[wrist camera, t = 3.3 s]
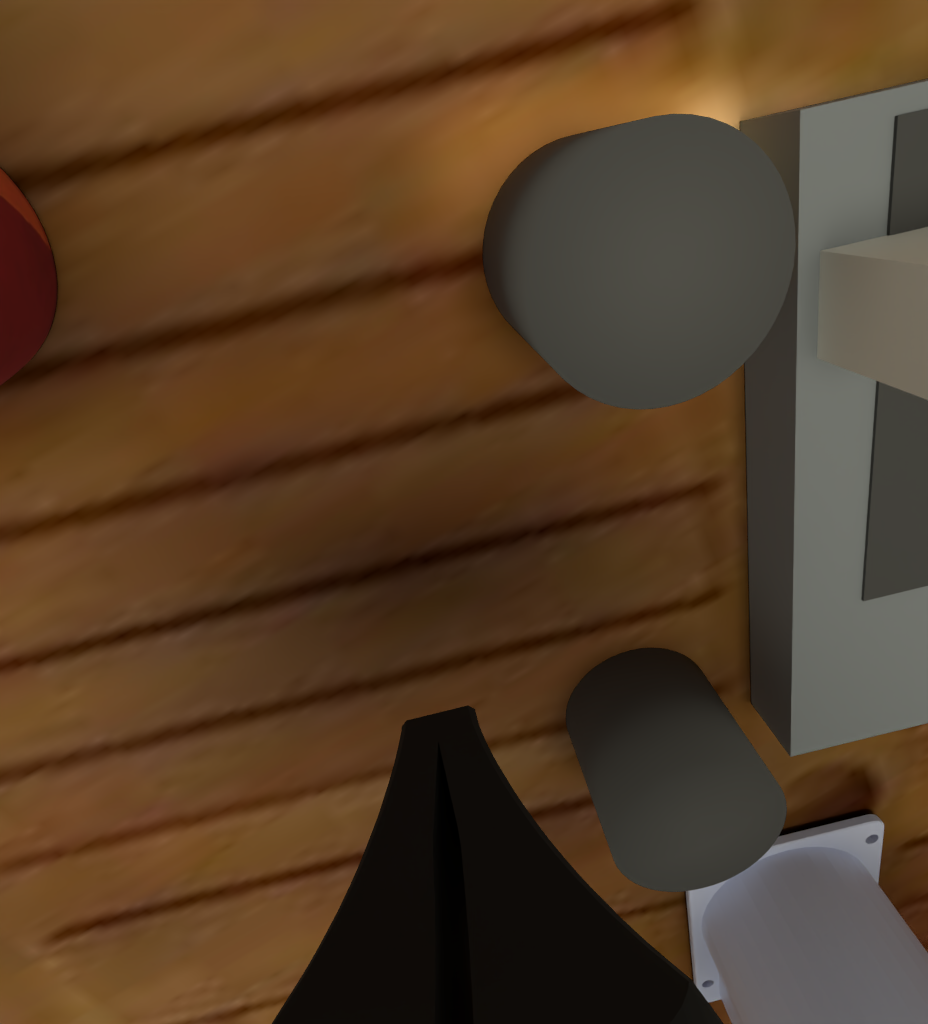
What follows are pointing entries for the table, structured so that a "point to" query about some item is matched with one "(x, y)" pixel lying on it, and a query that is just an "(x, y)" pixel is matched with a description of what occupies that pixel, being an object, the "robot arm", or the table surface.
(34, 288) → the coffee cup
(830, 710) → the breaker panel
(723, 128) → the squat charcoal cylinder
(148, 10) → the table surface
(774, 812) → the dark grey cylinder
